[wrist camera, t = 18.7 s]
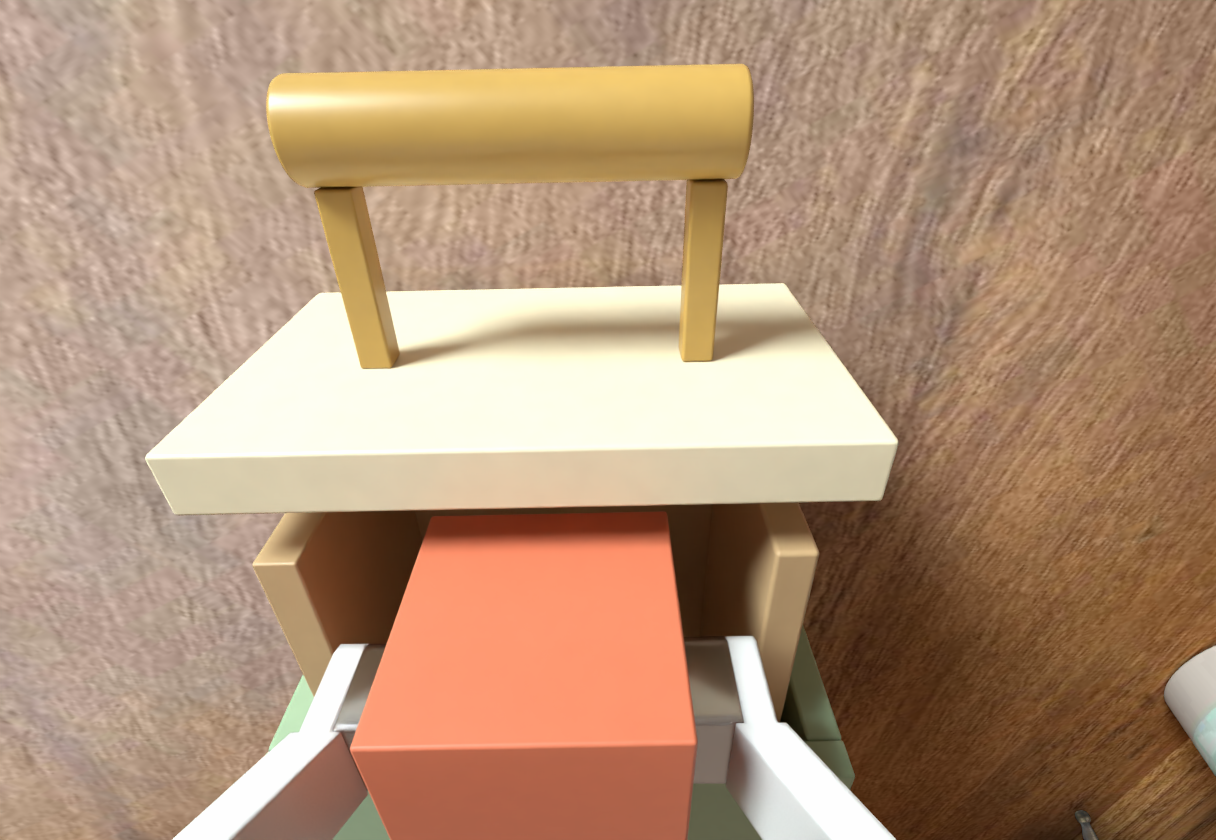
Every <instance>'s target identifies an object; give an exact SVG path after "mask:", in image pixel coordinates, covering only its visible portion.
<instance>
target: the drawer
mask: <svg viewBox="0 0 1216 840" xmlns="http://www.w3.org/2000/svg"><path fill="white" fill-rule="evenodd" d="M266 109H267V120H268V126H269V131H270V136H271V139H272V143H273V146H274V149H275V151H276V154H277V156H278V159H279V161H280V163H281V165H282V166H283V168H284V170H285V171H286V173H287V174H288V175H289V177H290V178H291V179H292V180H293V181H294V182H295V183H297V184H299V185H301V186H303V187H306V188H319V187H321V188H319V189H317V190H315V192H314V194H315V198H316V202H317V205H318V209H319V213H320V217H321V220H322V224H323V228H324V232H325V235H326V239H327V243H328V247H329V250H330V254H331V258H332V261H333V265H334V269H335V273H336V276H337V280H338V284H339V288H340V291H341V293H319V294H317V295H316V296H315V297H314V298H313V299H312V300H311V301H310V302H309V303H308V304H307V305H306V306H305V307H304V308H303V309H301V310H300V311H299V312H298V313H297V314H296V315H295V316H294V317H293V318H292V319H291V320H290V321H289V322H288V323H287V324H285V325H284V326H283V327H282V328H281V329H280V330H279V331H278V332H277V333H276V334H275V335H274V336H273V337H272V338H271V339H269V340H268V341H267V342H266V343H265V344H264V345H263V346H262V347H261V348H260V349H259V350H258V351H257V352H256V353H255V354H254V355H252V356H251V357H250V358H249V359H248V360H247V361H246V362H245V363H244V364H243V365H242V366H241V367H240V368H239V369H238V370H236V371H235V372H234V373H233V374H232V375H231V376H230V377H229V378H228V379H227V380H226V381H225V382H224V383H223V384H222V385H220V386H219V387H218V388H217V389H216V390H215V391H214V392H213V393H212V394H211V395H210V396H209V397H208V398H207V399H206V400H204V401H203V402H202V403H201V404H200V405H199V406H198V407H197V408H196V409H195V410H194V411H193V412H192V413H191V414H190V415H188V416H187V417H186V418H185V419H184V420H183V421H182V422H181V423H180V424H179V425H178V426H177V427H176V428H175V429H174V430H172V431H171V432H170V433H169V434H168V435H167V436H166V437H165V438H164V439H163V440H162V441H161V442H160V443H159V444H158V445H156V446H155V447H154V448H153V449H152V450H151V451H150V452H149V453H148V454H147V455H146V457H145V459H146V462H147V464H148V465H149V467H150V469H151V471H152V473H153V475H154V477H155V479H156V481H157V482H158V484H159V486H160V488H161V490H162V492H163V494H164V496H165V497H166V499H167V501H168V503H169V505H170V507H171V509H172V511H173V513H175V514H176V515H215V514H264V513H285V515H284V516H283V518H282V519H281V521H280V522H279V524H278V525H277V527H276V528H275V530H274V532H273V533H272V535H271V536H270V538H269V539H268V541H267V542H266V544H265V545H264V547H263V548H262V550H261V552H260V553H259V555H258V556H257V558H256V559H255V561H254V562H253V568H254V570H255V573H256V575H257V577H258V579H259V581H260V583H261V585H262V588H263V590H264V592H265V594H266V596H267V598H268V600H269V602H270V605H271V607H272V609H273V611H274V613H275V615H276V617H277V620H278V622H279V624H280V626H281V628H282V630H283V632H284V634H285V637H286V639H287V641H288V643H289V645H290V647H291V649H292V652H293V654H294V656H295V658H296V660H297V662H298V664H299V666H300V669H301V671H302V673H303V675H304V677H305V679H306V681H307V684H308V686H309V688H310V690H311V692H312V694H313V696H314V697H315V694H316V692H317V690H318V687H319V685H320V683H321V680H322V678H323V676H324V674H325V671H326V669H327V667H328V664H329V662H330V660H331V657H332V655H333V653H334V652H335V651H336V649H337V648H338V647H339V646H340V645H341V644H387V642H388V639H389V636H390V633H391V630H392V627H393V625H394V622H395V619H396V616H397V613H398V610H399V607H400V605H401V602H402V599H403V596H404V593H405V590H406V588H407V585H408V582H409V579H410V576H411V573H412V571H413V568H414V565H415V562H416V559H417V556H418V553H419V551H420V548H421V545H422V542H423V539H424V536H425V534H426V531H427V528H428V525H429V522H430V519H431V517H433V516H467V515H515V514H563V513H611V512H659V511H664V512H666V513H667V516H668V524H669V531H670V538H671V546H672V553H673V561H674V568H675V576H676V583H677V591H678V598H679V605H680V613H681V620H682V628H683V635H684V637H701V636H724V637H727V636H754V638H755V639H756V641H757V644H758V648H759V651H760V655H761V659H762V663H763V667H764V671H765V675H766V678H767V682H768V686H769V690H770V694H771V698H772V702H773V705H774V709H775V713H776V717H777V721H778V722H780V719H781V715H782V711H783V707H784V702H785V698H786V694H787V690H788V685H789V681H790V677H791V673H792V668H793V664H794V660H795V656H796V651H797V647H798V643H799V639H800V634H801V630H802V626H803V622H804V617H805V613H806V609H807V605H808V600H809V596H810V592H811V588H812V583H813V579H814V575H815V571H816V566H817V562H818V558H819V551H818V548H817V546H816V543H815V541H814V539H813V536H812V534H811V531H810V529H809V527H808V524H807V522H806V519H805V517H804V515H803V512H802V510H801V508H800V505H799V503H798V502H845V501H880V500H882V498H883V495H884V492H885V488H886V485H887V482H888V478H889V475H890V471H891V468H892V465H893V461H894V458H895V454H896V451H897V447H898V439H897V438H896V436H895V435H894V434H893V432H892V431H891V429H890V428H889V427H888V425H887V424H886V423H885V421H884V420H883V418H882V417H881V416H880V414H879V413H878V412H877V410H876V409H875V407H874V406H873V405H872V403H871V402H870V401H869V399H868V398H867V396H866V395H865V394H864V392H863V391H862V389H861V388H860V387H859V385H858V384H857V383H856V381H855V380H854V378H853V377H852V376H851V374H850V373H849V372H848V370H847V369H846V367H845V366H844V365H843V363H842V362H841V361H840V359H839V358H838V356H837V355H836V354H835V352H834V351H833V349H832V348H831V347H830V345H829V344H828V343H827V341H826V340H825V338H824V337H823V336H822V334H821V333H820V332H819V330H818V329H817V327H816V326H815V325H814V323H813V322H812V321H811V319H810V318H809V316H808V315H807V314H806V312H805V311H804V309H803V308H802V307H801V305H800V304H799V303H798V301H797V300H796V298H795V297H794V296H793V294H792V293H791V292H790V290H789V289H788V287H787V286H786V285H785V284H783V283H779V284H731V285H719V283H720V271H721V259H722V247H723V236H724V224H725V212H726V200H727V188H728V185H727V182H726V181H725V180H724V179H735V178H737V177H739V176H741V174H742V172H743V170H744V168H745V165H746V162H747V159H748V155H749V150H750V145H751V138H752V130H753V116H754V93H753V83H752V78H751V73H750V70H749V68H748V67H747V66H745V65H743V64H716V65H668V66H621V67H573V68H526V69H478V70H431V71H383V72H336V73H288V74H280V75H278V76H277V77H275V78H274V79H273V80H272V81H271V83H270V85H269V88H268V93H267V102H266ZM653 180H687V185H686V206H685V226H684V246H683V266H682V286H635V287H587V288H539V289H491V290H443V291H396V292H386V289H385V285H384V280H383V276H382V272H381V267H380V263H379V258H378V254H377V249H376V245H375V240H374V236H373V232H372V227H371V223H370V218H369V214H368V209H367V205H366V200H365V196H364V192H363V187H367V186H415V185H463V184H510V183H558V182H606V181H653Z"/></svg>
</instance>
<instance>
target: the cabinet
mask: <svg viewBox="0 0 1216 840" xmlns="http://www.w3.org/2000/svg"><path fill="white" fill-rule="evenodd" d="M313 699H314V696H313V694H312V692H311V690H310V688H309V686H308V684H307V681H306V679H305V677H304V675H302V678H301V680H300V682H299V684H298V686H297V688H296V691H295V693H294V695H293V697H292V699H291V701H290V704H289V706H288V708H287V710H286V712H285V714H284V717H283V719H282V721H281V723H280V725H279V727H278V730H277V732H276V734H275V736H274V738H273V741H272V743H271V745H270V747H269V752H270V751H271V750H272V749H273V748H274V747H275V746H276V745H277V744H278V743H280V742H281V741H282V740H283V739H284V738H285V737H286V736H287V735H288V734H290V733H294V732H299V731H300V729H301V726H302V724H303V722H304V720H305V717H306V715H307V713H308V710H309V708H310V706H311V703H312V701H313ZM780 723H787V724H788V725H789V726H790V727H791V728H792V729H793V730H794V731H795V732H796V733H797V734H798V735H799V736H800V738H801V739H802V740H803V741H804V742H805V743H806V744H807V745H808V746H809V747H810V748H811V749H812V750H813V751H814V752H815V754H816V755H817V756H818V757H819V758H820V759H821V760H822V761H823V762H824V763H825V764H826V765H827V766H828V767H829V768H830V769H831V771H832V772H833V773H834V774H835V775H836V776H837V777H838V778H839V779H840V780H841V781H842V782H843V783H844V784H845V785H846V787H847V788H848V789H849V790H850V789H851V786H852V783H853V781H854V778H855V774H854V771H853V768H852V765H851V762H850V760H849V757H848V754H847V751H846V748H845V745H844V742H843V741H841V735H840V732H839V729H838V726H837V723H836V720H835V717H834V714H833V711H832V708H831V705H830V702H829V699H828V696H827V694H826V691H825V688H824V685H823V682H822V679H821V676H820V673H819V670H818V667H817V664H816V661H815V658H814V655H813V652H812V650H811V647H810V644H809V641H808V638H807V635H806V632H805V629H804V626H802V630H801V634H800V639H799V643H798V647H797V651H796V656H795V660H794V664H793V668H792V673H791V677H790V681H789V685H788V690H787V694H786V698H785V702H784V707H783V711H782V715H781V719H780ZM367 792H368V791H367ZM332 840H390V838H389V836H388V834H387V831H386V829H385V827H384V825H383V823H382V820H381V818H380V816H379V814H378V811H377V809H376V807H375V805H374V803H373V800H372V798H371V796H370V794H369V792H368V795H367V797H366V798H365V799H364V800H363V802H362V803H361V804H360V805H359V807H358V808H357V809H356V810H355V812H354V813H353V814H352V815H351V817H350V818H349V819H348V820H347V822H346V823H345V824H344V826H343V827H342V828H341V829H340V831H339V832H338V833H337V834H336V836H335V837H334V838H333V839H332ZM687 840H762V839H761V837H760V836H759V834H758V833H757V832H756V830H755V829H754V827H753V826H752V824H751V823H750V821H749V820H748V818H747V817H746V815H745V814H744V813H743V811H742V810H741V808H740V807H739V805H738V804H737V802H736V801H735V799H734V798H733V796H732V795H731V794H730V792H729V791H728V789H727V788H726V784H693V791H692V801H691V810H690V820H689V829H688V839H687Z"/></svg>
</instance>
